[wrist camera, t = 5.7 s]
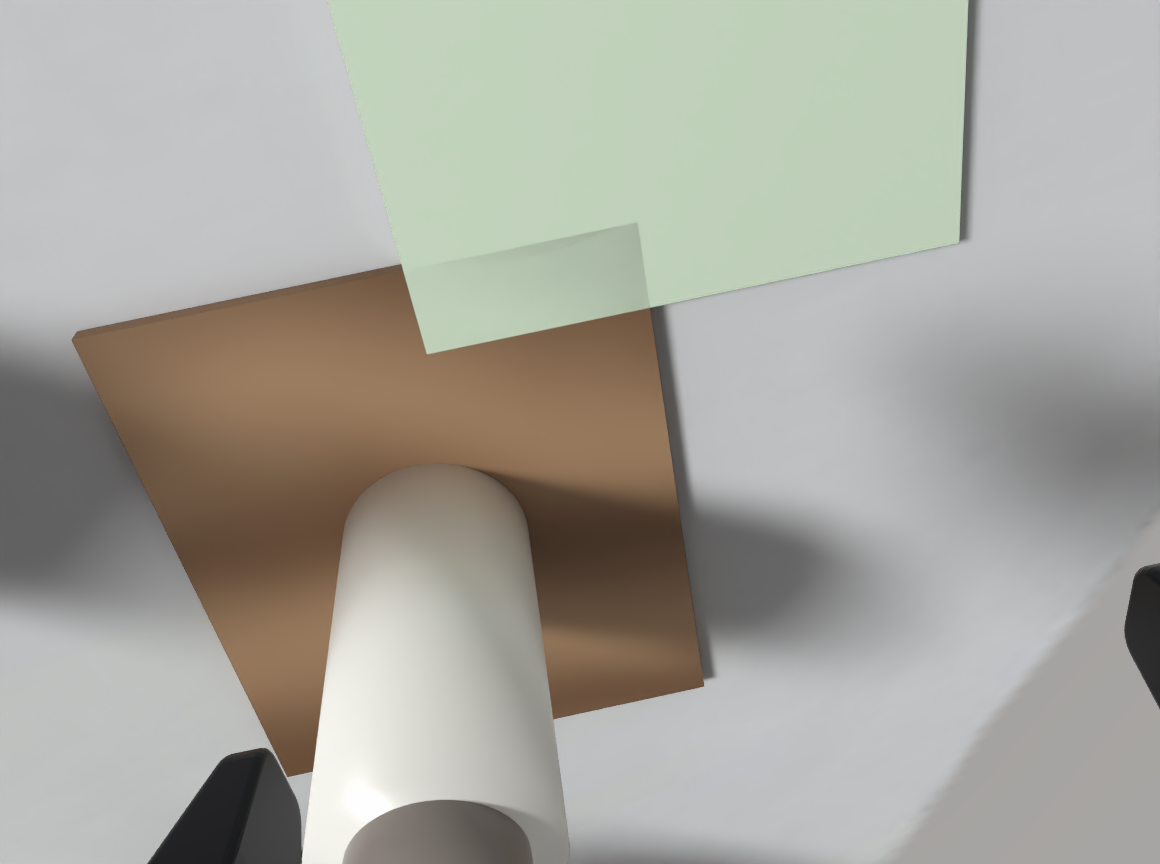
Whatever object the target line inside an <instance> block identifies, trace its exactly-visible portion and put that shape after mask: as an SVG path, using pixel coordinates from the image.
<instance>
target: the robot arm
mask: <svg viewBox="0 0 1160 864" xmlns="http://www.w3.org/2000/svg"><path fill="white" fill-rule="evenodd" d="M1124 631H1125V639H1126V644H1127V647H1128V649H1129V651H1130V654H1131V656H1132V658H1133V660H1134V662H1135V663H1136V665H1137V667H1138V669H1139V671H1140V673H1141V675H1142V677H1143V679H1144V680H1145V682H1146V684H1147V686H1148V688H1149V690H1150V692H1151V694H1152V695H1153V697H1154V699H1155V701H1156V703H1157V705H1158V707H1159V709H1160V563H1158V564H1154V565H1149V566H1144V567H1142V568H1140V569H1139V570H1138V572H1137V573H1136V574H1135V576H1134V580H1133V585H1132V590H1131V595H1130V600H1129V605H1128V611H1127V616H1126V621H1125V630H1124ZM147 864H302V859H301V815H300V809H299V805H298V802H297V799H296V797H295V795H294V793H293V791H292V789H291V787H290V785H289V783H288V781H287V779H286V777H285V775H284V773H283V771H282V770H281V768H280V766H279V764H278V762H277V760H276V758H275V756H274V755H273V753H272V752H271V751H269V750H268V749H266V748H259V749H254V750H249V751H244V752H239V753H234V754H231V755H228V756H226V757H225V758H224V759H222V760H221V761H220V762H219V764H218V765H217V766H216V768H215V769H214V770H213V772H212V773H211V775H210V776H209V777H208V779H207V780H206V782H205V783H204V784H203V786H202V787H201V789H200V790H199V792H198V793H197V794H196V796H195V797H194V799H193V800H192V801H191V803H190V804H189V806H188V807H187V808H186V810H185V811H184V813H183V814H182V816H181V817H180V818H179V820H178V821H177V823H176V824H175V825H174V827H173V828H172V830H171V831H170V832H169V834H168V835H167V837H166V838H165V839H164V841H163V842H162V844H161V845H160V847H159V848H158V849H157V851H156V852H155V854H154V855H153V856H152V858H151V859H150V861H149V862H148V863H147Z"/></svg>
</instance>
